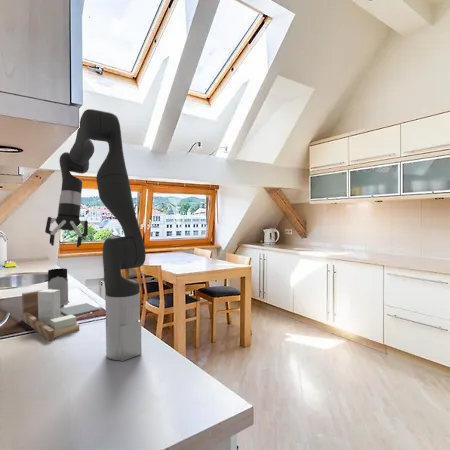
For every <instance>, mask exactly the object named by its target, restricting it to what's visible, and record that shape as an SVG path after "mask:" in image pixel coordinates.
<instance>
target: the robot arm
mask: <svg viewBox="0 0 450 450" xmlns="http://www.w3.org/2000/svg"><path fill="white" fill-rule="evenodd" d="M79 123H80V128H79V129H78V128H77V132H76V137H75V141H74V143H73V145H72V147H70V151H69V152H68V151H67V152H63V153H61V154H60V156H59V168H60V171H61V179H62V180H61V191H60V194H59V201H58V208H57V209H58V210H57V216H56V218H55V217H51V216H48V217H47V220H46V226H45V231H44V232H45V233H46V234H48V235H49V244H50V245H51V246H52V247H53V246H54V245H55V237H56V234H57V233H58V232H59V231H60V230H61V231H68V232H69V231H70V232H72V231H74V233H75V234H76V236H78V237H77V241H76V248H80V247H81V245H82V239H83V238H85V237H87V236H88V231H89V228H88V224H89V222H88V220H81V219H80V215H81V207H82V190H83V189H82V188H83V180H82V179H81V178H79V177H77V176H74V175H73V174H72V173H76V174H85V173H88V171H89V169H90V168H89V167H90V159H91V158H92V157H93V155H94V153H95V146H94V143H93V141H99V142H105V143H107V144H108V152H107V155H106V157H105V159H104V160H103V162H102V164H101V165H100V167H99V168H98V170H97V174H96V176H95V177H96V186H97V191H98V196H99V199H100V201H101V202H102V204H103V205H104V207H106V209H107V210H108V211H109V213H111V214H112V216H113V217H114V218H115V219H116V220H117V222H118V223H119V225H120V227H121V228H122V231H123V235H124V236H111V237H107V238H106V239H105V240H104V243H103V245H102V265H103V282H104V291H105V295H104V296H105V349H106V350H105V356H106V357H107V359H110V360H112V361H113V360H114V361H120V362H123V361H124V362H125V361H127V360H129V359H132V358H134V357H136V356H137V357H138V356H139V355H142V321H141V315H140V309H141V308H140V305H141V302H140V299H141V298H140V294H141V293H140V291H141V289H140V282H138V281H137V280H133V279H128V278H125V277H123V276H122V270H130V269H136V268H141V267H143V266H144V264H145V261H146V254H147V253H146V247H145V242H144V238H143V235H142V231H141V229H140V225H139V222H138V219H137V214H136V211H135V206H134V200H133V196H132V188H131V185H130V180H129V175H128V171H127V168H126V167H127V165H126V162H125V155H124V149H123V140H122V131H121V124H120V120H119V117H118V116H117V114H115V113H113V112H108V111H103V110H98V109H90V108H89V109H85V110H84V111H83V113H82V114H81V116H80V119H79ZM54 223H56V224H57V226H56V227H55V228H54V229H53V230H50V229H51V225H52V224H54ZM80 224H81V226H82V227H83V233H82V232H81V231H80V229H79V228H78V227H79V225H80Z"/></svg>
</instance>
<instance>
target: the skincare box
mask: <svg viewBox="0 0 450 450" xmlns="http://www.w3.org/2000/svg"><path fill="white" fill-rule="evenodd" d="M41 290H42V291H40V290H38V291H39V292H38V318H37V319H39V320H40V321H42V322H43V323H45V324H46V325H47V326H50V319H55V318H59V317H62V316H61V314H62V313H61V311H60V309H61V306H60V290H50V289H48V288H46V289H41Z"/></svg>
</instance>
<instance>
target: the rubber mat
mask: <svg viewBox="0 0 450 450" xmlns="http://www.w3.org/2000/svg"><path fill="white" fill-rule="evenodd" d="M60 311H61V314H63V315H65V316H67V315H74V316H76V317H77V316H80V315H84V313H85V314H88V312H89V313H93V312H97V311H100V307H99V308H98V307H96V306H94V305H92V304H90V303H88V302H86V303H81V304H75V305H70V306H67V307H60ZM92 311H93V312H92Z"/></svg>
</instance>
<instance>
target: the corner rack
mask: <svg viewBox="0 0 450 450" xmlns="http://www.w3.org/2000/svg"><path fill="white" fill-rule="evenodd" d="M42 290H43V289H41V290H35V291H28V292H22V293H21V296H22V298H21V299H22V300H21V304H22V306H21V307H22V308H21V309H22V314H21V316H22V321H23V322H24V323H25V324H26V325H28V326H29V327H30V326H31V327H30V328H32V329H33V330H34V329H35V330H34V331H36V332H37V333H38V334H39V335H41V336H42V337H43V338H45V339H46V340H48V341H49V342H50V341H53V340H55V337H54V330H53V329H52V328H50V325H46V324H45V323H43V322H42V321H40V320H39V319H38V292H39V291H42ZM50 290H53V289H50Z"/></svg>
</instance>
